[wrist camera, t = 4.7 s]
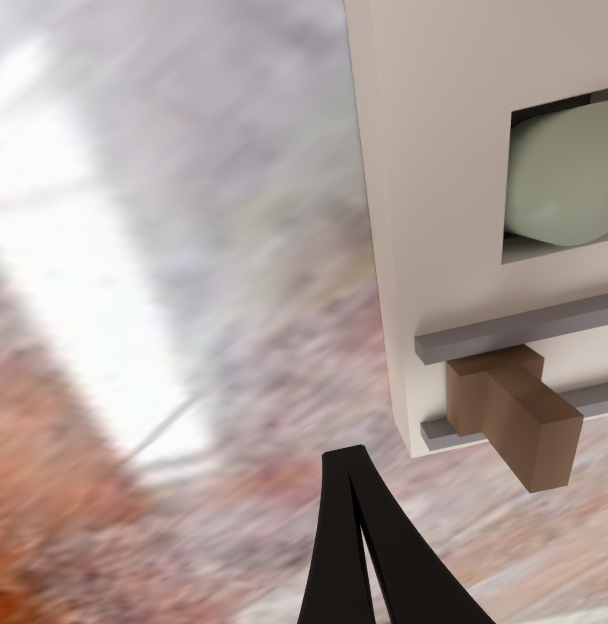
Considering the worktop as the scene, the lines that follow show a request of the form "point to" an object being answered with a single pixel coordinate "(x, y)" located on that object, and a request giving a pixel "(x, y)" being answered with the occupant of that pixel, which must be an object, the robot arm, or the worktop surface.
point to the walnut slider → (515, 413)
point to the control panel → (473, 196)
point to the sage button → (559, 176)
